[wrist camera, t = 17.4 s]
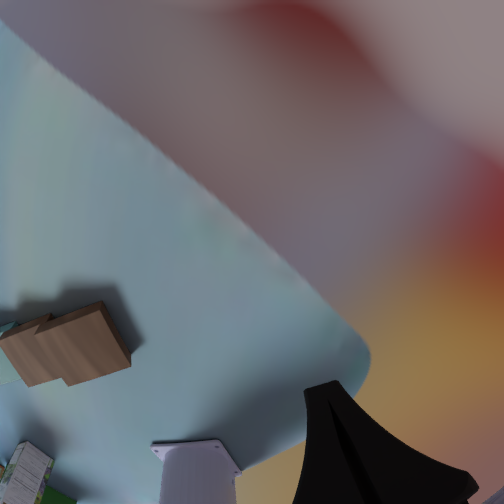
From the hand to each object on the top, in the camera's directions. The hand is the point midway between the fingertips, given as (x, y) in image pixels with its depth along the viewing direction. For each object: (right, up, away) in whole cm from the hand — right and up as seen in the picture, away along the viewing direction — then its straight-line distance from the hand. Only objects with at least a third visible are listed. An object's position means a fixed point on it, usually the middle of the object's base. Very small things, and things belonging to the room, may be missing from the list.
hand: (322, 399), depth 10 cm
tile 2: (-18, -1, +8) cm, 20 cm away
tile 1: (-13, 0, +8) cm, 15 cm away
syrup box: (-38, -26, +16) cm, 49 cm away
